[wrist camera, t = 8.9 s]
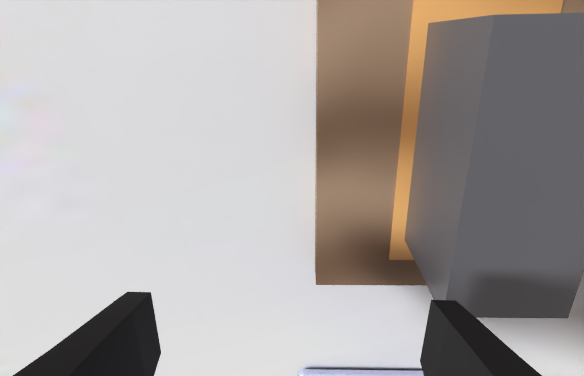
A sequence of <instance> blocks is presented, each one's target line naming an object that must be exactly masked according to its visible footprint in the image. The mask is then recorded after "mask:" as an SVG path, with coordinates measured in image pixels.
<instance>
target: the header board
mask: <svg viewBox="0 0 584 376" xmlns="http://www.w3.org/2000/svg"><path fill="white" fill-rule="evenodd" d="M547 13H584V0H317V71H316V227H315V273H316V285H427V284H426V282H425V280H424V278H423V276H422V274H421V272H420V270H419V268H418V266H417V264H416V262H415V260H414V258H413V256H412V254H411V252H410V250H409V248H408V246H407V244H406V242H405V240H404V239H405V230H406V221H407V212H408V203H409V194H410V185H411V176H412V167H413V158H414V149H415V140H416V131H417V122H418V113H419V104H420V94H421V85H422V76H423V67H424V58H425V49H426V40H427V31H428V23H433V22H440V21H448V20H456V19H464V18H472V17H480V16H488V15H503V14H547Z"/></svg>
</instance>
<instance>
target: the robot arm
mask: <svg viewBox="0 0 584 376" xmlns="http://www.w3.org/2000/svg"><path fill="white" fill-rule="evenodd" d="M160 354H161V350H160V344H159V338H158V332H157V326H156V320H155V314H154V308H153V303H152V297H151V293H150V292H127V293H125V294H124V295H123V296H121V297H120V298H118V299H117V300H116V301H114V302H113V303H112V304H110V305H109V306H108V307H106V308H105V309H104V310H102V311H101V312H100V313H98V314H97V315H96V316H94V317H93V318H92V319H91V320H89V321H88V322H87V323H85V324H84V325H83V326H81V327H80V328H79V329H77V330H76V331H75V332H73V333H72V334H71V335H69V336H68V337H67V338H65V339H64V340H63V341H61V342H60V343H59V344H57V345H56V346H54V347H53V348H52V349H50V350H49V351H48V352H46V353H45V354H43V355H42V356H40V357H39V358H38V359H36V360H35V361H33V362H32V363H30V364H29V365H28V366H26V367H25V368H23V369H22V370H20V371H19V372H17V373H16V374H15V375H13V376H154V373H155V370H156V367H157V364H158V360H159V357H160ZM420 362H421V366H422V370H423V371H399V370H323V369H305V370H302V371H300V372H299V373H298V376H542V375H540V374H539V373H538V372H537V371H536V370H534V369H533V368H532V367H531V366H530V365H529V364H527V363H526V362H525V361H524V360H523V359H522V358H520V357H519V356H518V355H517V354H516V353H515V352H513V351H512V350H511V349H510V348H509V347H508V346H507V345H505V344H504V343H503V342H502V341H501V340H500V339H499V338H498V337H496V336H495V335H494V334H493V333H492V332H491V331H490V330H489V329H488V328H486V327H485V326H484V325H483V324H482V323H481V322H480V321H479V320H478V319H476V318H475V317H474V316H473V315H472V314H471V313H470V312H469V311H467V310H466V309H465V308H464V307H463V306H462V305H461V304H459V303H458V302H457V301H456V300H431V304H430V310H429V315H428V321H427V326H426V332H425V337H424V343H423V348H422V354H421V359H420Z"/></svg>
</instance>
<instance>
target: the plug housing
mask: <svg viewBox="0 0 584 376" xmlns="http://www.w3.org/2000/svg"><path fill="white" fill-rule="evenodd" d="M404 240H405V242H406V244H407V246H408V248H409V250H410V252H411V254H412V256H413V258H414V260H415V262H416V264H417V266H418V268H419V270H420V272H421V274H422V276H423V278H424V280H425V282H426V284H427V286H428V288H429V290H430V292H431V294H432V296H433V298H434V300H456V301H457V302H458V303H459V304H461V305H462V306H463V307H464V308H465V309H466V310H467V311H469V312H470V313H471V314H472V315H473V316H474V317H490V318H568V316H569V313H570V310H571V307H572V304H573V301H574V298H575V295H576V292H577V289H578V286H579V283H580V280H581V277H582V274H583V271H584V13H547V14H503V15H488V16H480V17H472V18H464V19H456V20H448V21H440V22H433V23H428V31H427V40H426V49H425V58H424V67H423V76H422V85H421V94H420V104H419V113H418V122H417V131H416V140H415V149H414V158H413V167H412V176H411V185H410V194H409V203H408V212H407V221H406V230H405V239H404Z"/></svg>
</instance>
